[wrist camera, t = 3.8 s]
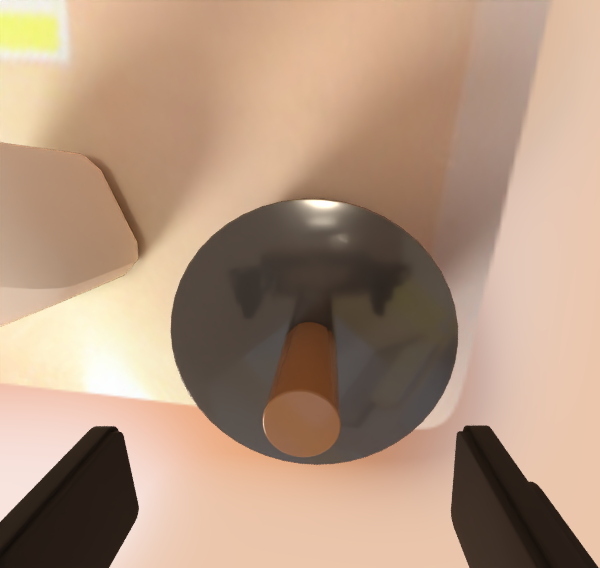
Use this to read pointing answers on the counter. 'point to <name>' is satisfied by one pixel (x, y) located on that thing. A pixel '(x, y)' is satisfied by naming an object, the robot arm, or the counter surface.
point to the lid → (314, 331)
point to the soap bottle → (56, 230)
